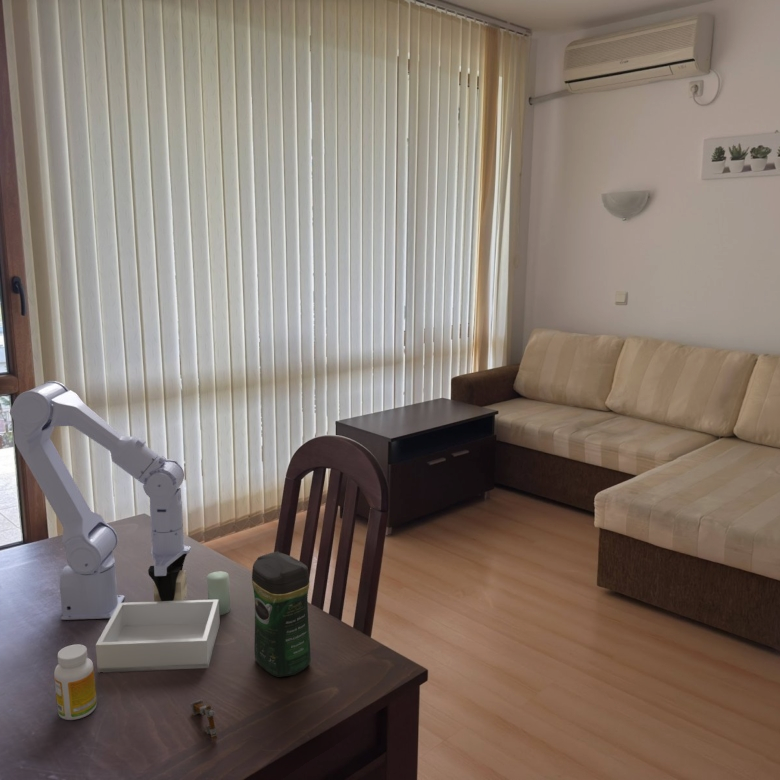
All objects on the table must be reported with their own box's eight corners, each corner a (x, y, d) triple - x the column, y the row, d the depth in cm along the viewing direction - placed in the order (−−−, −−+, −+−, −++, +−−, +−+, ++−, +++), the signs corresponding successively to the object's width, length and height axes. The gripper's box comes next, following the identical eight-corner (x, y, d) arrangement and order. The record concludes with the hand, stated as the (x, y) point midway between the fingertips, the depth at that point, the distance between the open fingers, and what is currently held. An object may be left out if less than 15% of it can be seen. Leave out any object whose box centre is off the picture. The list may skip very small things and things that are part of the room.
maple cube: (154, 607, 134) (153, 583, 133) (160, 594, 139) (159, 570, 138) (182, 606, 135) (180, 582, 133) (187, 593, 139) (185, 570, 138)
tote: (97, 672, 117) (95, 645, 116) (121, 627, 130) (119, 602, 129) (207, 668, 119) (206, 640, 118) (219, 624, 132) (218, 599, 131)
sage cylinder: (207, 615, 135) (205, 581, 133) (210, 605, 139) (208, 571, 137) (228, 615, 135) (227, 580, 134) (231, 604, 139) (230, 571, 138)
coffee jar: (318, 666, 119) (317, 563, 115) (277, 685, 114) (274, 577, 110) (287, 641, 127) (285, 543, 123) (247, 658, 122) (243, 556, 118)
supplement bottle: (103, 699, 111) (98, 642, 108) (85, 722, 105) (80, 663, 103) (70, 696, 111) (64, 640, 109) (50, 719, 106) (44, 660, 104)
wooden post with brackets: (210, 742, 100) (204, 709, 101) (195, 732, 107) (190, 701, 108) (222, 738, 101) (217, 704, 102) (207, 728, 108) (202, 697, 109)
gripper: (181, 542, 127) (185, 612, 130) (195, 511, 141) (198, 575, 144) (140, 543, 126) (144, 613, 129) (159, 512, 140) (162, 576, 143)
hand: (170, 593), depth 136 cm, fingers closed on maple cube, 5 cm apart
